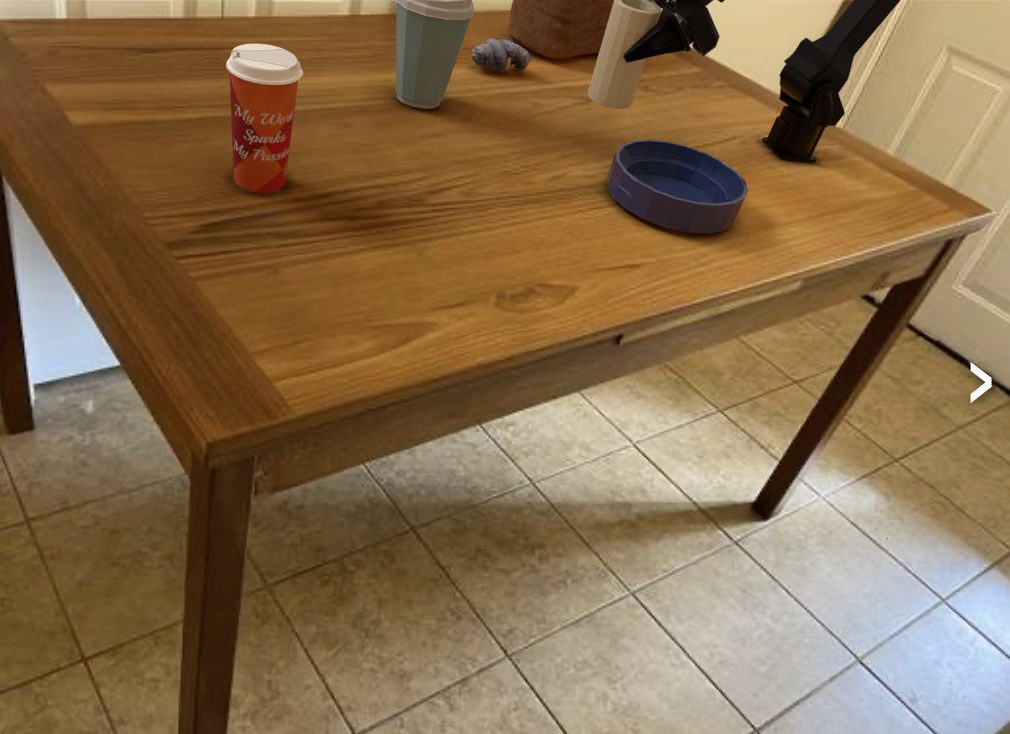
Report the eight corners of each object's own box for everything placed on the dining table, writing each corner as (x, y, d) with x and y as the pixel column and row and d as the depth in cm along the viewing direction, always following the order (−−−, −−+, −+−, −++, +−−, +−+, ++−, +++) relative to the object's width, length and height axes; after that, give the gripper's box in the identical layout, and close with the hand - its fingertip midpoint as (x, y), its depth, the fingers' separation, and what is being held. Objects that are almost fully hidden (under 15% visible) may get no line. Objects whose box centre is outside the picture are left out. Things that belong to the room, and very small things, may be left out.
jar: (622, 92, 123) (651, -2, 114) (637, 110, 118) (668, 15, 110) (581, 87, 121) (608, -7, 113) (595, 106, 117) (624, 9, 109)
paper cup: (227, 197, 95) (230, 68, 86) (221, 163, 100) (223, 38, 91) (299, 199, 98) (309, 74, 88) (290, 166, 103) (298, 44, 94)
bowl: (701, 175, 122) (714, 145, 119) (755, 241, 110) (770, 209, 107) (588, 166, 118) (598, 134, 115) (631, 233, 106) (643, 200, 103)
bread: (491, 37, 149) (507, -40, 141) (591, 21, 166) (610, -50, 158) (552, 69, 143) (572, -10, 135) (649, 49, 160) (673, -23, 152)
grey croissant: (521, 77, 141) (466, 79, 137) (516, 42, 140) (461, 43, 136) (539, 67, 136) (483, 69, 132) (534, 31, 136) (477, 32, 131)
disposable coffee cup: (371, 102, 120) (386, -14, 111) (393, 77, 128) (409, -33, 119) (445, 123, 120) (467, 8, 110) (463, 96, 128) (484, -13, 118)
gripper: (661, -109, 112) (560, -25, 116) (734, -65, 99) (618, 28, 103) (692, -37, 120) (596, 40, 123) (764, 13, 107) (654, 97, 111)
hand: (614, 49), depth 115 cm, fingers closed on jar, 6 cm apart
